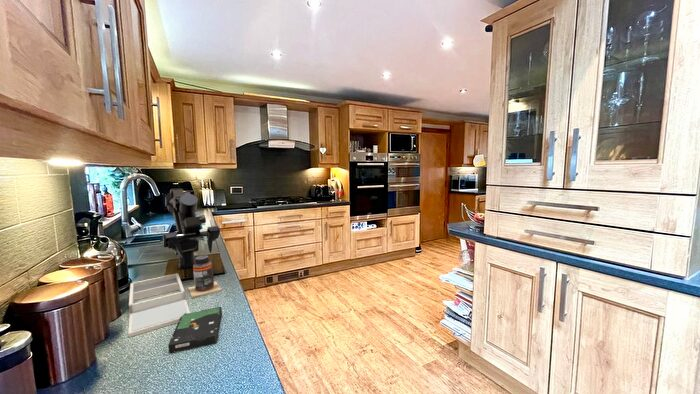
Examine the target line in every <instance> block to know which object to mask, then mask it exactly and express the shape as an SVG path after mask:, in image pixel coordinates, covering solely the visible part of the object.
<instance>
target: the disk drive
mask: <svg viewBox="0 0 700 394" xmlns="http://www.w3.org/2000/svg"><path fill="white" fill-rule="evenodd" d="M222 311H223V310H222V306H218V307H213V308H206V309H201V310H200V311H199V310H198V311H195V312H190V313H188V314H186V313H184V315H182V316H181V317H180V319H179V322H178V323H176V324H177V325H176V326H175V329H174V331H173V333H172V335H171V338H170V339H169V342H168V345H167V346H168V353H169V354H173V353H177V352H182V351H186V350H191V349H192V350H193V349H195V348H200V347H206V346H210V345H215V344H217V343H218V339H219V333H220V326H221V321H222V314H223V312H222Z"/></svg>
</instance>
